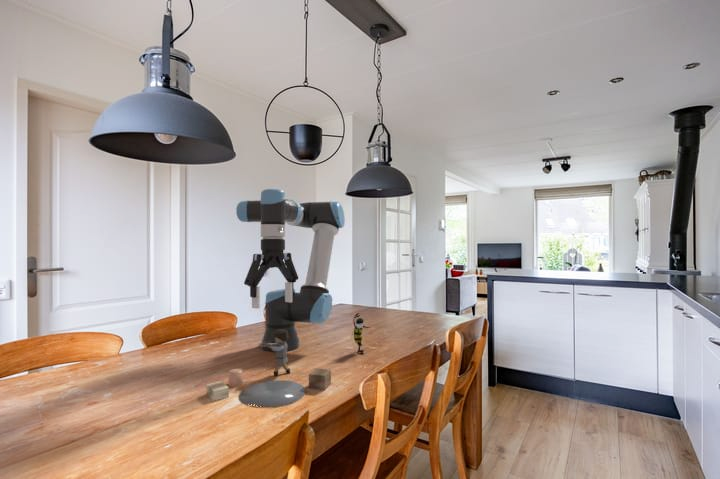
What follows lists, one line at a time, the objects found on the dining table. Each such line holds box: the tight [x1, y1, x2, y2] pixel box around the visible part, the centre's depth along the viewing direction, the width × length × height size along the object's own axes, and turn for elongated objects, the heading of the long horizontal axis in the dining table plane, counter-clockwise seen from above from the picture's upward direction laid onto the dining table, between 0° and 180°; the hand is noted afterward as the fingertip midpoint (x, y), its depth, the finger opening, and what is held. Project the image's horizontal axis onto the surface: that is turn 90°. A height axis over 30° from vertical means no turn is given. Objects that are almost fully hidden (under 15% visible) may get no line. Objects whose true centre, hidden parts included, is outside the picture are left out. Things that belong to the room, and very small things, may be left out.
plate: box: [238, 379, 306, 408], centre depth 104 cm, size 18×18×1 cm
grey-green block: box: [205, 380, 230, 402], centre depth 102 cm, size 6×4×4 cm, turn 40°
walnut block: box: [308, 368, 332, 391], centre depth 109 cm, size 5×5×5 cm
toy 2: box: [350, 312, 371, 355], centre depth 144 cm, size 7×8×15 cm
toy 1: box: [258, 329, 291, 377], centre depth 118 cm, size 8×10×15 cm
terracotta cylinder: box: [227, 368, 244, 388], centre depth 110 cm, size 4×4×5 cm
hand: (273, 305), depth 118 cm, fingers open, 13 cm apart
